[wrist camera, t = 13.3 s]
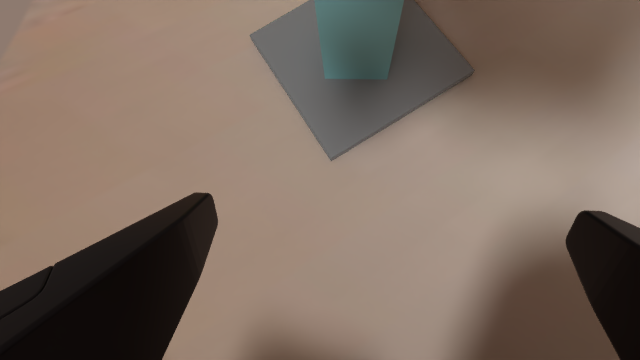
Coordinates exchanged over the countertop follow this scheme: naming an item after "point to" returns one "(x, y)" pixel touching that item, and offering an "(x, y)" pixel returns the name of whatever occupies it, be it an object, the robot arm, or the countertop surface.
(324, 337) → the countertop surface
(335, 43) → the teal block
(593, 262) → the robot arm
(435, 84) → the slate mat
